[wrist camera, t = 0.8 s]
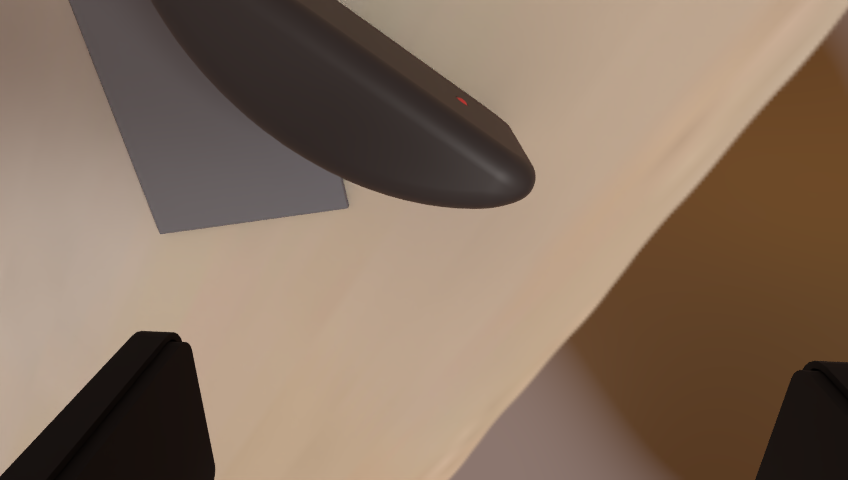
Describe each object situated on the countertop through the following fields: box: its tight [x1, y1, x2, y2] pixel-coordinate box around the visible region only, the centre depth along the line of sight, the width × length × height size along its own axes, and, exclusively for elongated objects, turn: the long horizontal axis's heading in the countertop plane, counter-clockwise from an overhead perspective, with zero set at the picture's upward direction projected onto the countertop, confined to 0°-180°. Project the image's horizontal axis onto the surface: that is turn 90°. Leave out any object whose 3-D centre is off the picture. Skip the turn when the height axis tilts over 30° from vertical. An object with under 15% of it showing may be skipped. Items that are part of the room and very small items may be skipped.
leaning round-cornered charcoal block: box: [151, 0, 535, 209], centre depth 23 cm, size 16×5×9 cm, turn 56°
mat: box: [69, 0, 349, 234], centre depth 28 cm, size 11×16×1 cm
